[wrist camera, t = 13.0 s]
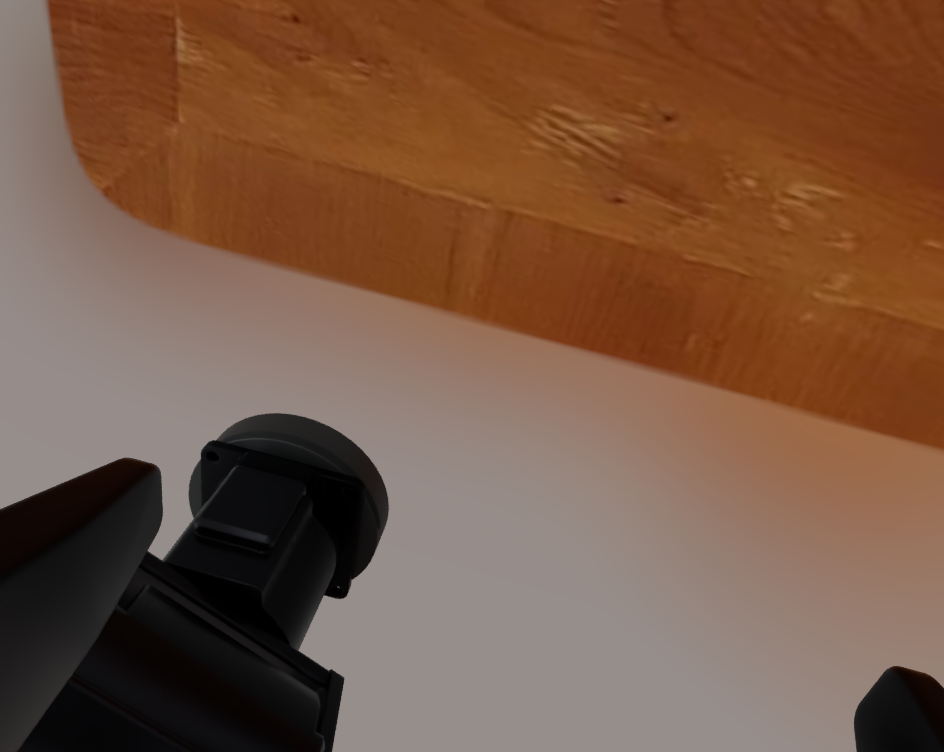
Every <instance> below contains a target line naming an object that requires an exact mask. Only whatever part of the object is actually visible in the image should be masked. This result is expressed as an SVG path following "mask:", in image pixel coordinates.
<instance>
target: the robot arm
mask: <svg viewBox="0 0 944 752" xmlns="http://www.w3.org/2000/svg"><path fill="white" fill-rule="evenodd" d="M212 451H213V452H215V453H217V454H218V455H219V456H217V455H215V454H214V453H213V452H212ZM348 488H351V489H353V490H354V491H355V492H352V491H350V490H349V489H348ZM364 494H365V485H364V484H363V482H362V481H361V480H360V479H358V478H356V477H353V476H350V475H346V474H342V473H338V472H335V471H331V470H327V469H323V468H319V467H316V466H312V465H308V464H304V463H301V462H297V461H293V460H289V459H285V458H282V457H278V456H274V455H270V454H267V453H263V452H259V451H255V450H252V449H248V448H244V447H240V446H236V445H233V444H229V443H225V442H221V441H217V440H212V441H209V442H208V443H207V444H206V445H205V446H204V448H203V449H202V450H201V510H200V511H199V513H198V514H197V515H196V517H195V518H194V519H193V521H192V522H191V523H190V525H189V526H188V527H187V528H186V530H185V531H184V532H183V534H182V535H181V536H180V538H179V539H178V540H177V542H176V543H175V544H174V546H173V547H172V548H171V550H170V551H169V552H168V554H167V555H166V556H165V558H164V559H163V560H160V559H159V558H157V557H156V556H154V555H153V554H151V553H150V552H148V549H149V547H150V545H151V543H152V542H153V540H154V538H155V536H156V535H157V533H158V530H159V528H160V525H161V521H162V516H163V507H162V484H161V472H160V470H159V468H158V467H157V466H156V465H154V464H152V463H148V462H144V461H141V460H137V459H133V458H122V459H119V460H116V461H114V462H112V463H109V464H107V465H104V466H102V467H100V468H97V469H95V470H92V471H90V472H88V473H85V474H83V475H81V476H78V477H76V478H74V479H71V480H69V481H67V482H64V483H62V484H59V485H57V486H55V487H52V488H50V489H47V490H45V491H43V492H40V493H38V494H35V495H33V496H31V497H29V498H26V499H24V500H22V501H19V502H17V503H14V504H12V505H9V506H7V507H5V508H2V509H0V752H332V748H333V742H334V736H335V730H336V725H337V719H338V713H339V707H340V701H341V695H342V690H343V684H344V677H342V676H341V675H339V674H338V673H336V672H335V671H333V670H332V669H331V670H329V671H328V670H327V669H325V668H324V667H322V666H321V665H319V664H318V663H316V662H315V661H313V660H312V659H310V658H309V657H307V656H306V655H304V654H303V653H301V652H299V651H298V650H299V648H300V646H301V644H302V641H303V639H304V637H305V635H306V633H307V630H308V628H309V626H310V624H311V622H312V620H313V617H314V615H315V613H316V611H317V609H318V607H319V604H320V602H321V600H322V598H323V596H328V597H332V598H335V599H343V598H345V597H347V594H348V592H349V590H350V587H351V582H352V575H353V569H354V562H355V555H356V548H357V542H358V535H359V528H360V521H361V515H362V508H363V501H364ZM336 586H337V587H336ZM854 731H855V740H856V749H857V752H944V688H943V687H942V686H941V685H940V684H939V683H938V682H937V681H936V680H935V679H934V678H933V677H931V676H930V675H927V674H925V673H922V672H918V671H914V670H911V669H907V668H904V667H899V666H893V667H891V668H889V669H887V670H886V671H885V672H884V673H883V674H882V676H881V677H880V678H879V679H878V681H877V682H876V683H875V684H874V686H873V687H872V688H871V689H870V691H869V692H868V693H867V695H866V696H865V697H864V698H863V700H862V701H861V702H860V704H859V705H858V707H857V710H856V713H855V717H854Z"/></svg>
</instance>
